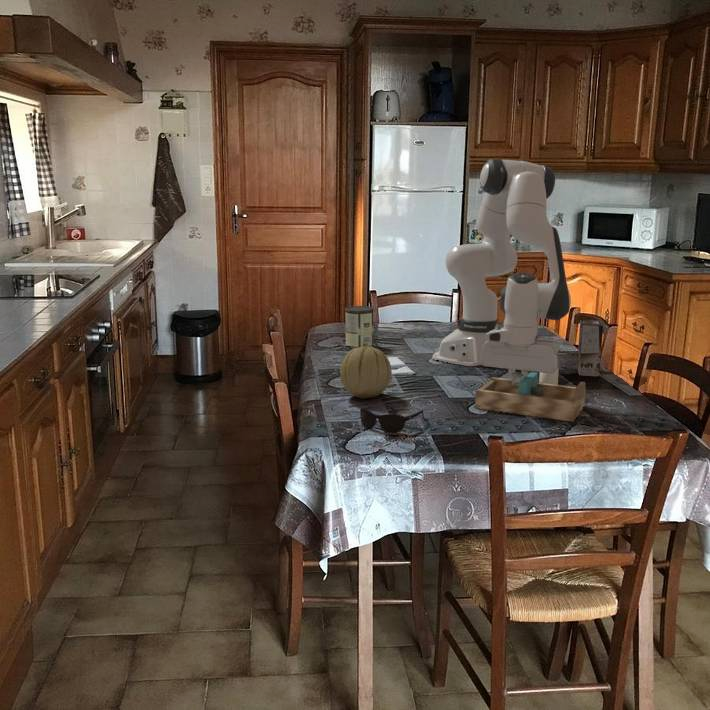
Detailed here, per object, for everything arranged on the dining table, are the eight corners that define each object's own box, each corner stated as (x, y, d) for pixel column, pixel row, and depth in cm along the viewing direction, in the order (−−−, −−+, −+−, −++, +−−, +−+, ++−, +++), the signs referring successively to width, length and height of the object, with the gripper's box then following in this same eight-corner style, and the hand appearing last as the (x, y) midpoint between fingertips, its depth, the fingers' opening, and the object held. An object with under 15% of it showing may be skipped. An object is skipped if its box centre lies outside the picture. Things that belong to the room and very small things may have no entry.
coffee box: (600, 376, 242) (603, 325, 239) (578, 375, 244) (581, 324, 240) (597, 369, 251) (600, 320, 247) (576, 368, 252) (579, 319, 248)
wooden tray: (475, 408, 212) (476, 383, 210) (491, 394, 224) (492, 370, 223) (573, 421, 200) (574, 395, 198) (584, 406, 213) (586, 381, 211)
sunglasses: (354, 427, 198) (354, 408, 196) (386, 411, 210) (386, 393, 209) (400, 437, 190) (400, 417, 189) (431, 419, 203) (432, 401, 202)
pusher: (518, 407, 208) (519, 382, 206) (529, 396, 218) (530, 372, 216) (536, 410, 205) (538, 384, 204) (547, 398, 216) (548, 374, 214)
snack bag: (399, 361, 264) (399, 355, 264) (416, 377, 245) (416, 370, 244) (343, 365, 260) (343, 358, 260) (356, 380, 241) (356, 374, 240)
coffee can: (355, 342, 291) (354, 304, 287) (379, 345, 285) (379, 307, 282) (339, 347, 282) (339, 309, 279) (364, 351, 277) (364, 311, 274)
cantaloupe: (352, 407, 213) (352, 353, 209) (332, 393, 226) (331, 342, 222) (401, 400, 218) (401, 348, 215) (378, 387, 231) (378, 337, 228)
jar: (535, 393, 224) (537, 362, 222) (540, 389, 229) (542, 358, 227) (555, 396, 222) (557, 364, 220) (559, 391, 227) (561, 360, 225)
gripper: (562, 336, 207) (559, 386, 210) (487, 329, 216) (485, 378, 220) (556, 341, 202) (553, 392, 205) (479, 333, 211) (478, 383, 214)
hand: (517, 385), depth 212 cm, fingers closed
